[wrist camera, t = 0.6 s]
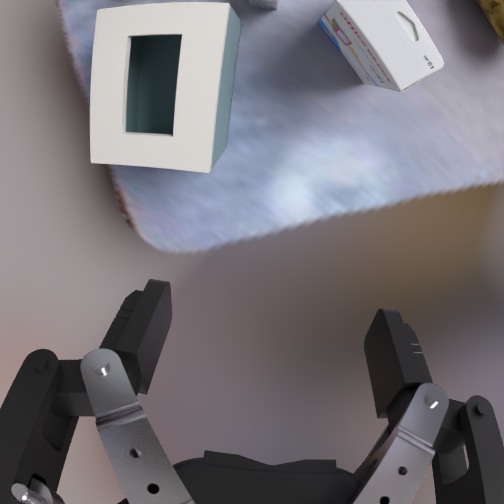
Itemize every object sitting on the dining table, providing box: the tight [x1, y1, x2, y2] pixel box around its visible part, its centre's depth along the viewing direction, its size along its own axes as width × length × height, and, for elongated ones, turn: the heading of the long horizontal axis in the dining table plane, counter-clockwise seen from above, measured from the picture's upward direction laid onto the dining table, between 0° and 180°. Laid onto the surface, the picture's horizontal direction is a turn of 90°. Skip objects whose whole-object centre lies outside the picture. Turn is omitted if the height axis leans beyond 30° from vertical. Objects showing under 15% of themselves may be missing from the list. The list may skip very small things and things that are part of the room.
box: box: [90, 2, 242, 173], centre depth 26 cm, size 14×11×10 cm
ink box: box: [318, 0, 444, 92], centre depth 22 cm, size 9×5×12 cm, turn 39°
